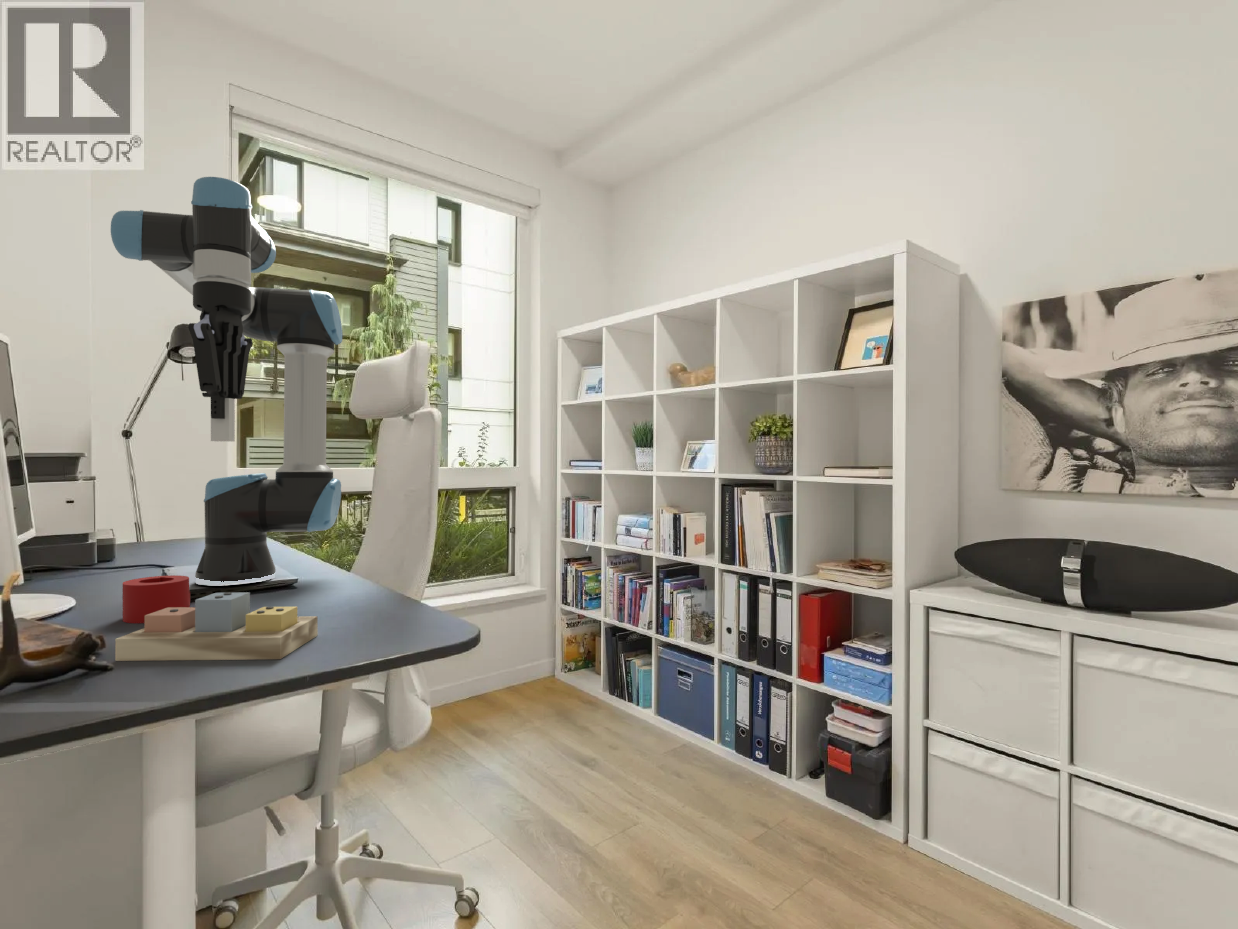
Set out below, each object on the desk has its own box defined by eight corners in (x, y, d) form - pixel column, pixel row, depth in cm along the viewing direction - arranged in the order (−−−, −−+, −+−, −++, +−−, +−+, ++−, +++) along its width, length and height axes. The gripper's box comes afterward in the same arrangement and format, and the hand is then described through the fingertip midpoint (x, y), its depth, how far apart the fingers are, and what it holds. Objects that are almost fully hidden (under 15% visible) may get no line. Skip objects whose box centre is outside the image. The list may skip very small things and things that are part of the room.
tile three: (263, 640, 97) (263, 605, 97) (297, 639, 97) (297, 605, 97) (245, 649, 92) (245, 613, 92) (281, 649, 92) (281, 613, 92)
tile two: (215, 626, 97) (215, 591, 97) (249, 625, 97) (249, 591, 97) (195, 635, 92) (195, 598, 92) (231, 634, 92) (231, 598, 92)
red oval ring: (178, 622, 109) (178, 583, 109) (112, 627, 106) (112, 586, 106) (210, 600, 126) (210, 567, 126) (153, 604, 123) (153, 569, 123)
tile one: (167, 640, 96) (167, 606, 96) (202, 640, 97) (202, 605, 96) (144, 650, 91) (144, 614, 91) (180, 650, 92) (180, 613, 92)
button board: (172, 636, 100) (172, 617, 100) (317, 635, 101) (317, 616, 101) (115, 660, 88) (115, 638, 88) (280, 659, 89) (280, 637, 89)
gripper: (222, 296, 104) (222, 442, 104) (168, 272, 91) (169, 439, 91) (269, 296, 104) (269, 442, 105) (222, 273, 91) (223, 440, 91)
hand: (222, 441), depth 98 cm, fingers closed
